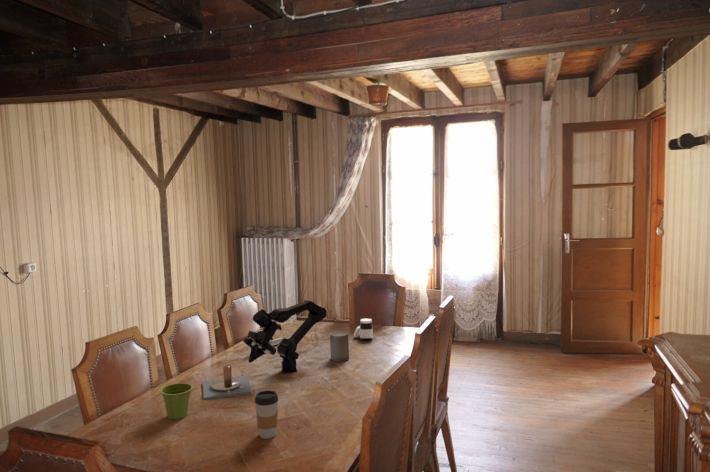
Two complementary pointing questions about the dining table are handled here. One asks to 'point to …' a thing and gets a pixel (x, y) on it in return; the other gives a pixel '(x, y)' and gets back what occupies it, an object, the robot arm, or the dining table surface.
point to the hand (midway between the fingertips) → (249, 362)
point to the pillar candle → (339, 346)
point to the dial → (226, 381)
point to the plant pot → (176, 399)
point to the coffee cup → (267, 413)
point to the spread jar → (364, 330)
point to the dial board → (213, 394)
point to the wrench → (275, 341)
